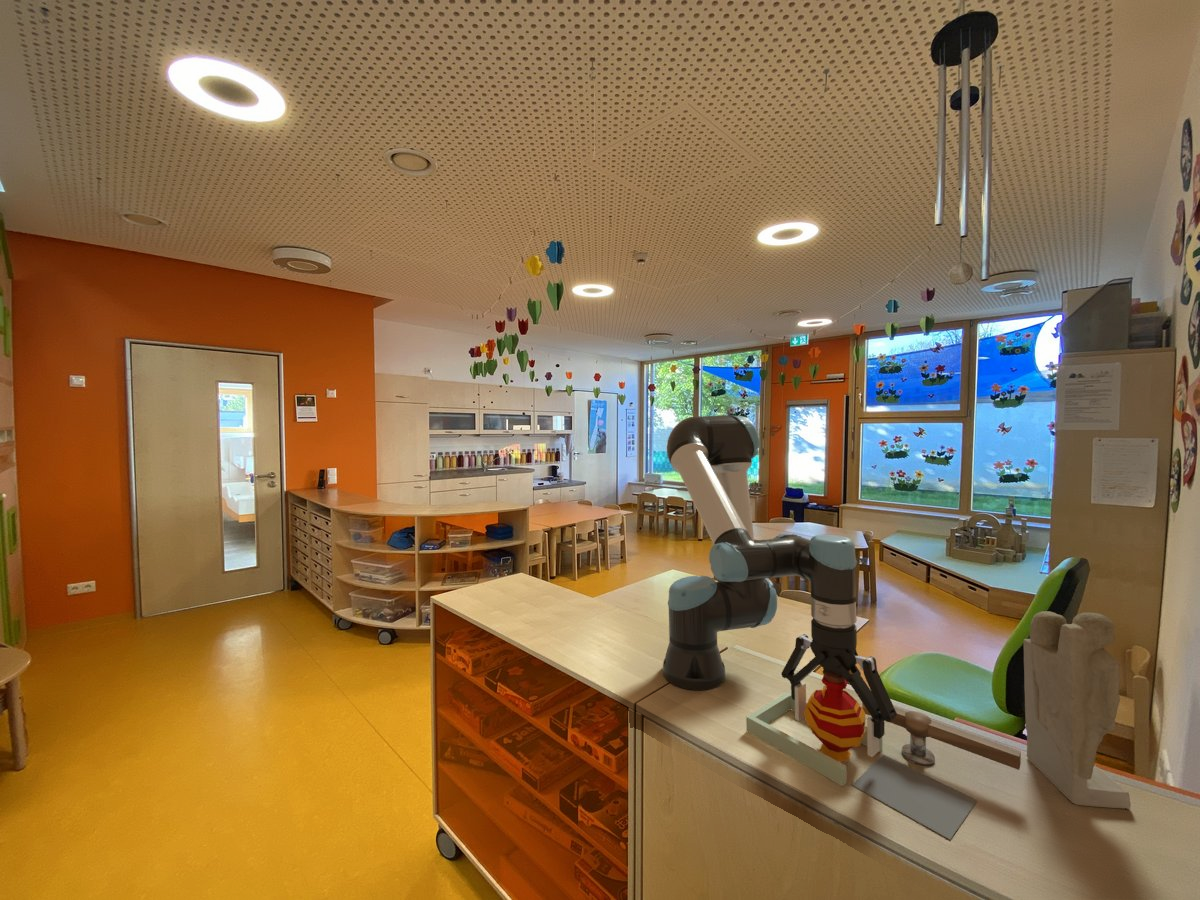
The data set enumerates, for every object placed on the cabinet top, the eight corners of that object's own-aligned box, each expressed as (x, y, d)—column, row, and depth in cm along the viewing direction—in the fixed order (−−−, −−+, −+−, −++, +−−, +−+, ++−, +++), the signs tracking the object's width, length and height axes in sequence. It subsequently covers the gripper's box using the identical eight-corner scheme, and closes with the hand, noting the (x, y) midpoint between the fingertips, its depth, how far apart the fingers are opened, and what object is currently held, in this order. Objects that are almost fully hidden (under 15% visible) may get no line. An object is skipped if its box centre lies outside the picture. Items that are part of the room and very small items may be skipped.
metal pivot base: (897, 754, 88) (897, 730, 88) (908, 743, 91) (908, 720, 91) (928, 769, 84) (928, 744, 84) (939, 757, 87) (939, 733, 87)
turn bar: (1018, 773, 76) (1018, 759, 76) (860, 715, 93) (860, 702, 92) (1021, 761, 79) (1021, 747, 79) (867, 706, 95) (867, 694, 95)
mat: (851, 785, 81) (851, 784, 81) (883, 755, 88) (883, 754, 88) (950, 840, 70) (950, 839, 70) (977, 800, 77) (977, 799, 77)
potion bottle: (825, 728, 96) (824, 654, 96) (878, 756, 88) (877, 676, 87) (792, 747, 91) (791, 669, 90) (845, 780, 82) (844, 694, 82)
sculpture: (1148, 825, 71) (1150, 626, 70) (1083, 817, 73) (1085, 623, 72) (1071, 758, 86) (1073, 592, 85) (1019, 753, 88) (1019, 590, 87)
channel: (746, 731, 96) (746, 716, 96) (788, 704, 105) (788, 691, 105) (842, 786, 81) (842, 769, 81) (882, 749, 90) (882, 733, 89)
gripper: (762, 607, 96) (764, 711, 97) (898, 649, 76) (900, 780, 77) (783, 598, 101) (785, 698, 101) (918, 636, 81) (918, 760, 81)
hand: (834, 734), depth 89 cm, fingers open, 13 cm apart
